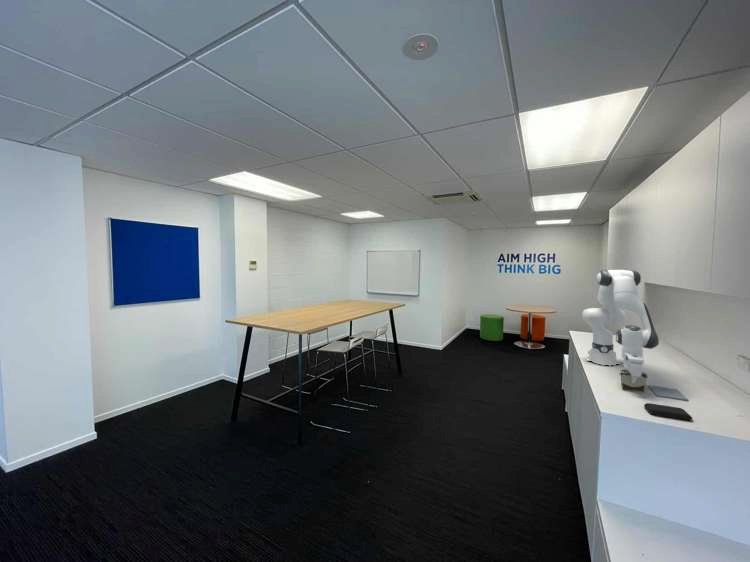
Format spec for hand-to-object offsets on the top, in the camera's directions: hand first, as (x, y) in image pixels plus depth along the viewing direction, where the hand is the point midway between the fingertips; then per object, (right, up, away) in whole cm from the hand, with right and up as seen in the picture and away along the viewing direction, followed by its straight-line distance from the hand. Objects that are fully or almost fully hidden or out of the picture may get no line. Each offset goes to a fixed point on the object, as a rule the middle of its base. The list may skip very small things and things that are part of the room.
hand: (631, 379), depth 164 cm
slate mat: (+14, -5, -6) cm, 16 cm away
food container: (0, -5, 0) cm, 5 cm away
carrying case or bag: (-8, -7, -27) cm, 29 cm away
